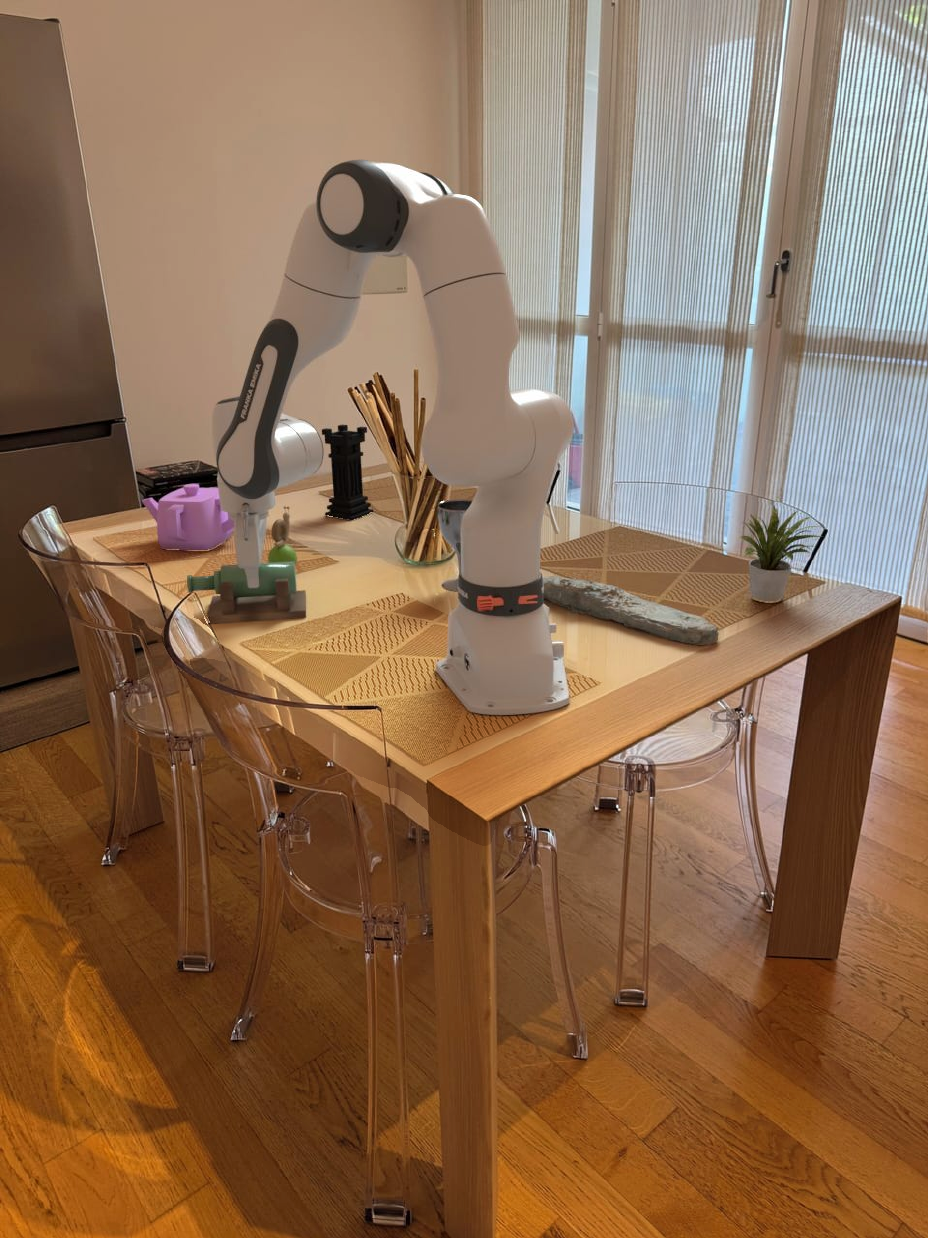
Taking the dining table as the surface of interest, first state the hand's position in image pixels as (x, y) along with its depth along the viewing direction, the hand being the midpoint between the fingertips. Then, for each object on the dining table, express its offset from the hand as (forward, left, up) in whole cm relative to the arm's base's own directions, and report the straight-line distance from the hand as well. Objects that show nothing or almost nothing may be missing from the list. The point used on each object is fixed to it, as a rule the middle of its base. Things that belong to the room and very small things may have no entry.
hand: (255, 577), depth 152 cm
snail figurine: (+20, -4, -6) cm, 21 cm away
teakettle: (+44, +15, -6) cm, 47 cm away
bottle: (-2, +2, -2) cm, 4 cm away
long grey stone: (-14, -60, -6) cm, 62 cm away
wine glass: (+6, -36, -6) cm, 37 cm away
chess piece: (+59, -18, -6) cm, 62 cm away
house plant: (-12, -86, -6) cm, 87 cm away
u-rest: (0, 0, -6) cm, 6 cm away
